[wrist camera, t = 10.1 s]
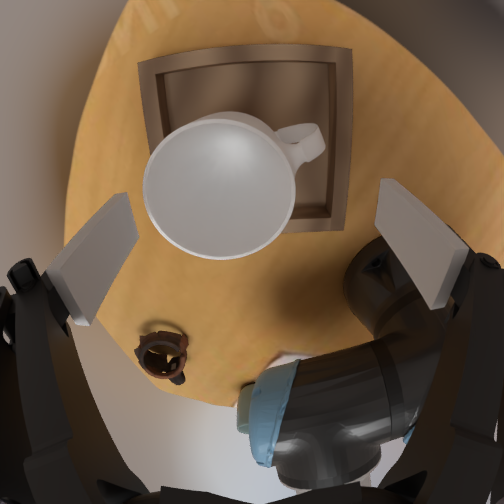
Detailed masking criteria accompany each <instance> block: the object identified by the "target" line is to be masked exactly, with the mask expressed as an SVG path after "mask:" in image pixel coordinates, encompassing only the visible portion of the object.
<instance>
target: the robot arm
mask: <svg viewBox="0 0 504 504" xmlns="http://www.w3.org/2000/svg"><path fill="white" fill-rule="evenodd" d="M374 225H375V227H376V228H377V229H378V231H379V232H380V233H381V235H382V236H381V237H379V238H378V239H376V240H374V241H373V242H371V243H370V244H368V245H367V246H366V247H365V248H364V249H363V250H361V251H360V252H359V254H358V255H357V256H356V257H355V258H354V260H353V261H352V262H351V264H350V266H349V268H348V270H347V272H346V274H345V278H344V283H343V290H344V295H345V298H346V300H347V303H348V306H349V308H350V310H351V311H352V312H353V314H354V315H355V316H357V318H358V319H359V320H360V321H361V322H362V324H363V325H364V326H365V327H366V328H367V329H368V330H369V331H370V332H371V334H372V335H373V337H374V341H371V342H367V343H364V344H361V345H357V346H354V347H350V348H347V349H343V350H340V351H336V352H332V353H328V354H324V355H320V356H316V357H312V358H308V359H304V360H301V359H297V360H295V361H294V362H291V363H287V364H284V365H280V366H276V367H272V368H269V369H267V370H265V371H264V372H263V373H261V375H260V376H259V377H258V379H257V380H256V382H255V385H254V388H253V391H252V396H251V401H250V410H249V439H250V446H251V451H252V455H253V457H254V459H255V460H256V462H257V463H258V465H260V466H264V467H268V468H269V467H272V466H276V469H277V472H278V477H279V479H280V482H281V483H282V484H283V485H285V486H286V487H288V488H290V489H293V490H296V493H297V495H295V496H292V497H288V498H285V499H282V500H278V501H275V502H270V503H267V504H486V502H487V499H488V496H489V494H490V492H491V499H490V501H491V502H490V504H504V269H502V268H501V266H500V264H499V263H498V262H497V260H495V259H494V258H493V257H491V256H490V255H488V254H485V253H477V254H476V253H475V252H474V251H473V250H472V249H471V248H470V247H469V246H468V245H467V243H466V242H465V241H464V240H463V239H461V237H460V236H459V235H458V234H457V233H455V231H454V230H453V229H452V228H451V227H450V226H448V225H447V224H445V223H444V222H443V221H442V220H441V219H440V218H439V217H438V216H436V215H435V214H434V213H433V212H432V211H431V210H430V209H429V208H428V207H427V206H425V205H424V204H423V203H422V202H421V201H420V200H419V199H417V198H416V197H415V196H414V195H413V194H412V193H410V192H409V191H408V190H407V189H406V188H404V187H403V186H402V185H401V184H400V183H398V182H397V181H396V180H395V179H391V178H381V182H380V190H379V198H378V205H377V211H376V218H375V224H374ZM138 239H139V235H138V231H137V228H136V224H135V221H134V217H133V213H132V209H131V206H130V202H129V198H128V194H127V192H125V193H119V194H115V195H114V196H112V197H111V198H110V199H109V200H108V201H107V202H106V203H105V204H104V205H103V206H102V207H101V208H100V209H99V210H98V211H97V212H96V213H95V214H94V215H93V216H92V217H91V219H90V220H89V221H88V222H87V223H86V224H85V225H84V226H83V227H82V228H81V229H80V230H79V231H78V232H77V234H76V235H75V236H74V237H73V238H72V239H71V240H70V241H69V243H68V244H67V245H66V246H65V247H64V248H63V249H62V251H61V252H60V253H59V254H58V255H57V257H56V258H55V259H54V260H53V261H52V263H51V264H50V265H49V267H48V268H47V269H46V270H45V272H44V273H43V274H42V276H40V275H39V273H38V271H37V269H36V267H35V265H34V263H33V261H32V259H31V258H26V259H23V260H21V261H19V262H18V263H16V264H15V265H14V266H13V267H12V268H11V269H10V270H9V271H8V274H7V277H8V279H9V281H10V283H11V284H12V286H13V288H14V289H15V291H16V294H13V295H10V294H9V292H8V291H7V289H6V287H4V286H2V287H0V504H252V503H247V502H243V501H238V500H234V499H230V498H227V497H223V496H219V495H216V494H212V493H209V492H202V491H192V490H184V489H178V488H171V487H166V486H161V491H158V492H152V493H150V492H149V491H148V489H147V488H146V487H145V485H144V484H143V482H142V481H141V480H140V479H139V478H138V477H137V476H136V475H135V474H134V473H133V472H132V471H131V470H130V469H129V468H128V466H127V465H126V463H125V462H124V460H123V458H122V456H121V455H120V453H119V451H118V449H117V447H116V445H115V444H114V442H113V440H112V438H111V436H110V434H109V432H108V430H107V428H106V425H105V423H104V421H103V419H102V417H101V414H100V412H99V410H98V408H97V405H96V403H95V400H94V398H93V396H92V393H91V391H90V388H89V385H88V383H87V380H86V377H85V374H84V371H83V368H82V366H81V362H80V359H79V356H78V353H77V350H76V347H75V343H74V340H73V336H72V332H71V328H70V326H69V324H68V323H67V321H66V320H67V318H68V316H69V314H70V315H71V317H72V319H73V320H74V322H75V323H76V325H85V326H90V325H91V323H92V321H93V319H94V317H95V315H96V313H97V311H98V309H99V307H100V305H101V303H102V301H103V300H104V298H105V296H106V294H107V292H108V290H109V288H110V287H111V285H112V283H113V281H114V279H115V277H116V276H117V274H118V272H119V270H120V269H121V267H122V265H123V263H124V262H125V260H126V258H127V257H128V255H129V253H130V252H131V250H132V248H133V247H134V245H135V243H136V242H137V240H138ZM3 331H4V332H5V334H6V335H7V336H8V337H9V339H10V343H9V344H8V343H7V342H6V341H5V339H4V338H3ZM497 419H498V425H497V442H495V440H494V432H495V427H496V423H497ZM400 437H404V438H403V442H404V443H405V444H406V447H405V449H404V451H403V453H402V455H401V456H400V458H399V459H398V461H397V462H396V463H395V464H394V466H393V467H392V468H391V469H390V470H389V471H388V472H387V474H386V475H385V477H384V478H383V479H382V481H381V483H380V484H379V486H378V487H377V488H376V487H371V480H370V473H371V472H372V471H373V470H374V469H375V468H376V467H377V466H378V464H379V462H380V460H381V447H380V444H383V443H386V442H389V441H391V440H394V439H397V438H400Z"/></svg>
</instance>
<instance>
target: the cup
mask: <svg viewBox="0 0 504 504" xmlns="http://www.w3.org/2000/svg"><path fill="white" fill-rule="evenodd" d="M254 385H255V384H250V385H247V386H245V387H244V388H243V389H242V390H241V392H240V394H239V397H238V404H237V430H238V431H239V432H241V433H244V434H249V410H250V401H251V396H252V391H253V388H254Z"/></svg>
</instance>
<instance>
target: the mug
mask: <svg viewBox="0 0 504 504" xmlns="http://www.w3.org/2000/svg"><path fill="white" fill-rule="evenodd" d="M296 142H299V143H297V144H291V143H296ZM324 150H325V143H324V140H323V137H322V134H321V132H320V129H319V127H318V125H317V124H314V123H304V124H297V125H293V126H288V127H285V128H281V129H278V131H276V132H274V131H273V130H272V129H271V128H270V127H269V126H268V125H267V124H265V123H264V122H263V121H261V120H260V119H258V118H256V117H254V116H251V115H249V114H245V113H241V112H233V111H226V112H218V113H214V114H210V115H207V116H204V117H202V118H199V119H197V120H195V121H193V122H191V123H189V124H187V125H184V126H182V127H180V128H178V129H177V130H175V131H174V132H172V133H171V134H169V135H168V136H167V137H166V138H165V139H164V140H163V141H162V142H161V143H160V144H159V145H158V146H157V147H156V149H155V150H154V152H153V153H152V155H151V157H150V159H149V161H148V163H147V166H146V169H145V172H144V177H143V198H144V203H145V207H146V210H147V212H148V215H149V217H150V219H151V221H152V222H153V224H154V226H155V227H156V228H157V230H158V231H159V232H160V233H161V234H162V235H163V236H164V237H165V238H166V239H167V240H168V241H169V242H170V243H172V244H173V245H175V246H176V247H178V248H179V249H181V250H183V251H185V252H187V253H189V254H192V255H195V256H198V257H202V258H207V259H215V260H227V259H235V258H240V257H244V256H247V255H250V254H252V253H255V252H257V251H259V250H261V249H262V248H264V247H265V246H267V245H268V244H270V243H271V242H272V241H273V240H274V239H275V238H276V237H277V236H278V235H279V234H280V233H281V232H282V230H283V229H284V228H285V226H286V224H287V223H288V221H289V219H290V216H291V214H292V211H293V208H294V203H295V195H296V186H295V174H296V172H297V170H298V168H299V167H300V165H301V164H303V163H304V162H310V161H312V160H313V159H315V158H316V157H318V156H319V155H320V154H321V153H322V152H323V151H324Z"/></svg>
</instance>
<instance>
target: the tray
mask: <svg viewBox="0 0 504 504" xmlns="http://www.w3.org/2000/svg"><path fill="white" fill-rule="evenodd" d="M138 73H139V82H140V90H141V98H142V105H143V112H144V119H145V125H146V132H147V138H148V143H149V149H150V155H152V153H153V152H154V150H155V149H156V147H157V146H158V145H159V144H160V143H161V142H162V141H163V140H164V139H165V138H166V137H167V136H168V135H169V134H171V133H172V132H174V131H175V130H177V129H178V128H180V127H182V126H184V125H187V124H189V123H191V122H193V121H195V120H197V119H199V118H202V117H204V116H207V115H210V114H214V113H218V112H226V111H233V112H241V113H245V114H249V115H251V116H254V117H256V118H258V119H260V120H261V121H263V122H264V123H265V124H267V125H268V126H269V127H270V128H271V129H272V130H273V131H274V132H276V131H278V129H281V128H285V127H288V126H293V125H297V124H304V123H314V124H317V125H318V127H319V129H320V132H321V134H322V137H323V140H324V143H325V150H324V151H323V152H322V153H321V154H320V155H319V156H318V157H316V158H315V159H313V160H312V161H310V162H304V163H303V164H301V165H300V167H299V168H298V170H297V172H296V174H295V186H296V195H295V203H294V208H293V211H292V214H291V216H290V219H289V221H288V223H287V224H286V226H285V228H284V229H283V230H282V232H281V233H296V232H318V231H341V230H344V224H345V216H346V207H347V197H348V187H349V176H350V162H351V146H352V123H353V61H352V49H349V48H341V47H331V46H320V45H304V44H254V45H238V46H226V47H217V48H209V49H201V50H195V51H189V52H183V53H178V54H172V55H168V56H163V57H158V58H154V59H150V60H146V61H142V62H138ZM297 143H299V142H296V143H291V144H297Z"/></svg>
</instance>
